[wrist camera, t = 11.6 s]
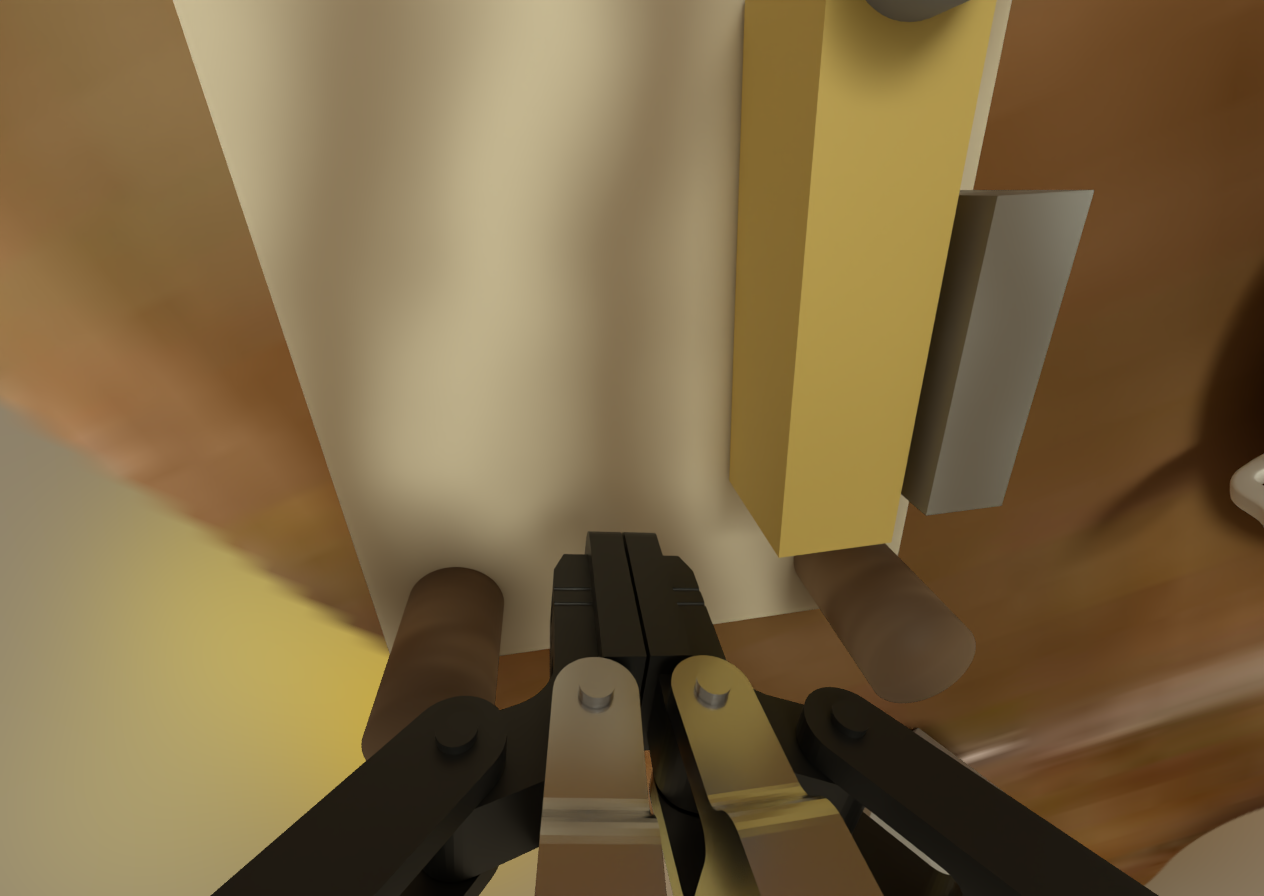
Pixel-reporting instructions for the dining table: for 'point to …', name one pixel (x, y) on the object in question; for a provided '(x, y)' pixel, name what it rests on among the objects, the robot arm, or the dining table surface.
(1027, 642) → the dining table surface
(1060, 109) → the dining table surface
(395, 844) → the robot arm
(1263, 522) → the candlestick
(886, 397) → the bar
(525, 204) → the seat board
